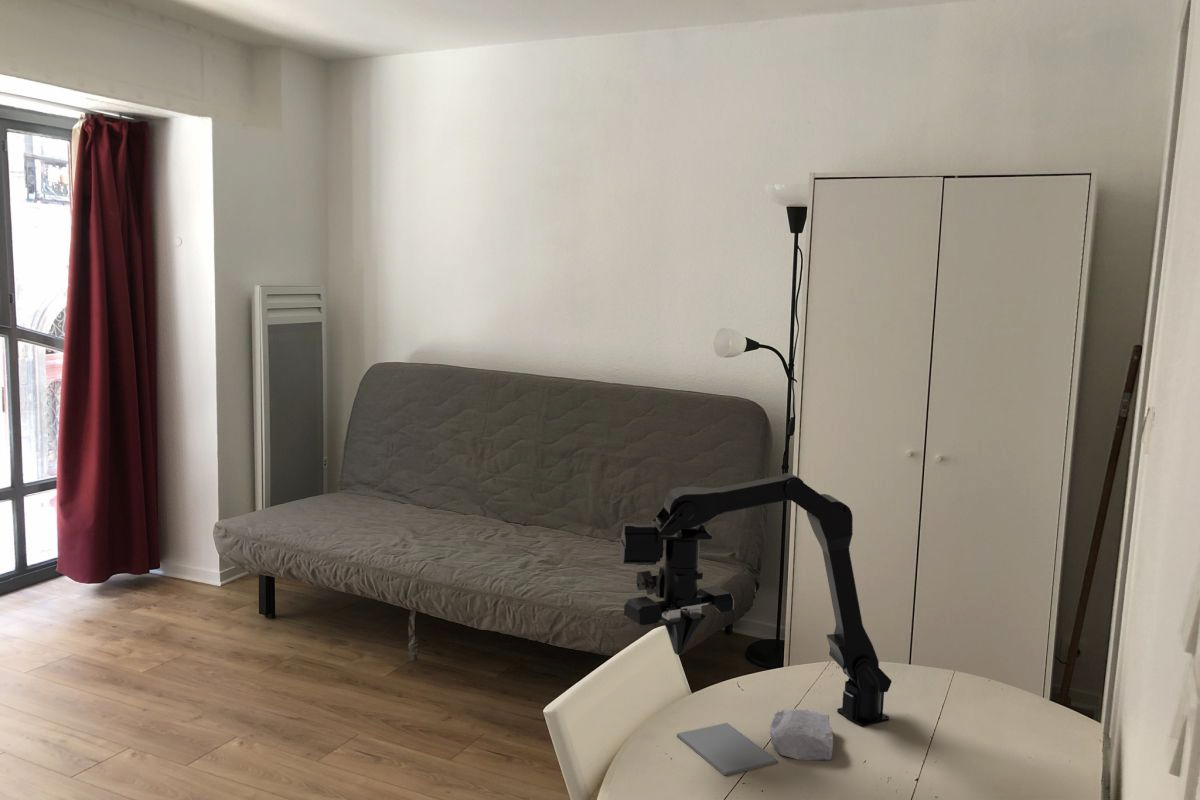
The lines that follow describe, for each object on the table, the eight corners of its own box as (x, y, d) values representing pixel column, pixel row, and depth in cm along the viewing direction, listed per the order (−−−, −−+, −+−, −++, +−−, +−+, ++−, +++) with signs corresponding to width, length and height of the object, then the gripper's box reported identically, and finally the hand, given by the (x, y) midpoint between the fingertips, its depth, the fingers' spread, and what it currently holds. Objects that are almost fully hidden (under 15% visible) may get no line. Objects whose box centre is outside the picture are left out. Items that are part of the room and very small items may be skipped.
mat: (726, 725, 161) (727, 722, 161) (777, 762, 149) (777, 759, 149) (676, 736, 157) (676, 733, 157) (724, 775, 145) (724, 772, 144)
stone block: (774, 767, 150) (838, 762, 149) (770, 738, 150) (834, 732, 149) (771, 735, 162) (830, 730, 161) (767, 708, 162) (826, 703, 161)
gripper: (700, 546, 170) (697, 630, 172) (609, 557, 161) (606, 646, 163) (737, 562, 160) (733, 651, 162) (642, 575, 151) (639, 669, 153)
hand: (677, 653), depth 160 cm, fingers closed
